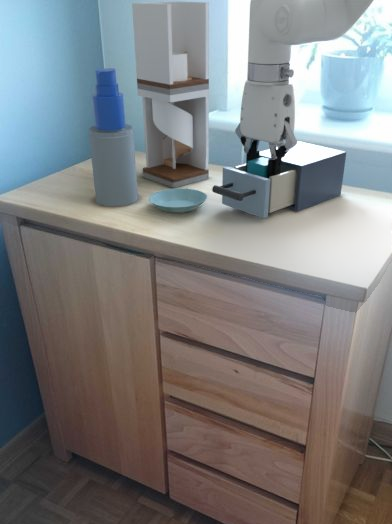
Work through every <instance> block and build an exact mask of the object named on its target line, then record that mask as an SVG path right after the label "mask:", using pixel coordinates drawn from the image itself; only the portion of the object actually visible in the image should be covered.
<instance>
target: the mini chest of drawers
mask: <svg viewBox="0 0 392 524" xmlns="http://www.w3.org/2000/svg"><path fill="white" fill-rule="evenodd" d="M276 149H278V147H277V146H276ZM259 153H260V158H261V157H265V158H269V159H271V154H270V148H269V149H264V150H260V152H259ZM346 158H347V151H344V150H341V149H335V148H332V147H326V146H323V145H318V144H314V143H308V142H304V141H300V140H297V145H296V146H294V147H293V148H292V149H290V150H289V151H288V152H287V153H286V154H285V156H284V157H282V161H281V165H284V166H288V167H292V168H295V169H298V176H297V187H296V198H295V204H292V205H290V206H287V207H284V208H283V209H287V210H290V211H294V212H296V213H298V212H301V211H303V210H306V209H308V208H311V207H313V206H317V205H319V204H322V203H324V202H327V201H329V200H332V199H334V198H337V197H340V196H341V195H342V188H343V180H344V173H345V166H346Z"/></svg>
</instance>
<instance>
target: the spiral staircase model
mask: <svg viewBox="0 0 392 524" xmlns="http://www.w3.org/2000/svg"><path fill="white" fill-rule="evenodd" d="M131 5H132V6H131V8H132V24H133V26H132V27H133V38H134V39H133V40H134V55H135V69H136V70H135V71H136V72H135V73H136V85H137V86H136V87H137V96H138V97H141V98H142V115H143V131H144V147H145V165H146V166H145V167H142V177H143V178H145V179H148V180H150V181H153V182H156V183H159V184H161V185H164V186H166V187H169V188H171V189H176V188H179V187H182V186H187V185H190V184H192V183H197V182H200V181H203V180H208V179H209V178H210V176H209V173H210V172H209V171H210V167H209V166H210V163H209V162H210V161H209V160H210V152H209V151H210V128H209V127H210V126H209V125H210V2H207V1H203V2H202V1H180V0H179V1H178V0H177V1H175V0H172V1H169V0H167V1H148V2H147V1H146V2H145V1H144V2H132V3H131Z"/></svg>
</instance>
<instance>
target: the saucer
mask: <svg viewBox="0 0 392 524" xmlns="http://www.w3.org/2000/svg"><path fill="white" fill-rule="evenodd" d="M207 199H208V195H207V194H206V193H205V192H203V191H200V190H198V189H192V188H168V189H162V190H158V191H156V192H154V193H152V194H150V195H149V197H148V201H149V202H150V203H151V204H152V205H153V206H154V207H156V208H157V209H159V210H161V211H163V212H166V213H170V214H185V213H189V212H191V211H194V210H196V209H198V208H199V207H201V206H202V205H203V204H205V202H206V201H207Z"/></svg>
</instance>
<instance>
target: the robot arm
mask: <svg viewBox="0 0 392 524" xmlns="http://www.w3.org/2000/svg"><path fill="white" fill-rule="evenodd" d="M249 2H250V3H249V21H248V22H249V23H248V24H249V25H248V47H247V48H248V49H247V50H248V52H247V72H246V73H247V76H246V80H245V81H244V86H243V91H242V96H241V97H242V98H241V105H240V106H241V107H240V115H239V123H238V125H237V126H236V128H235V131H234V132H235V134H236V136H237V137H238V138H239V140H240V143H241V144H242V146H243V152H244V153H245V154H246V156H245V157H246V158H245V164H246V172H247V163H248V161H250V160H254V159H257V158H260V153H259V152H261V150H258V149H259V145H260V141H261V142H264V143H265V142H266V143H268V146H269V149H270V154H271V159H269V160H268V170H267V178H268V179H269V177H271V176H274V175H277V174H280V173H281V161H282V157H284V156H285V154H286V153H287V152H288V151H289V150H290V149H292V148H293V147H294V146H296V145H297V141H298V140H297V139H296V136H295V122H296V121H295V120H296V119H295V118H296V117H295V116H296V105H295V103H296V102H295V89H294V84H293V82H291V81H290V78H291V79H292V78H293V76H294V73H295V71H294V69H293V68H291V63H292V51H293V47H295V46H296V47H297V46H305V45H312V44H321V43H329V42H334V41H336V40H338V39H340V38H341V37H342V36H344V35H345V34H346V33H348V31H350V30H351V28H352V27H354V25H355V24H356V23H357V22H358V21H359V19H361V17H362V16H363V14H364V13H365V12H366V11H367V10H368V9H369V8H370V6H371V5H372V4H373V2H374V0H250V1H249ZM276 147H278V149H276Z"/></svg>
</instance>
